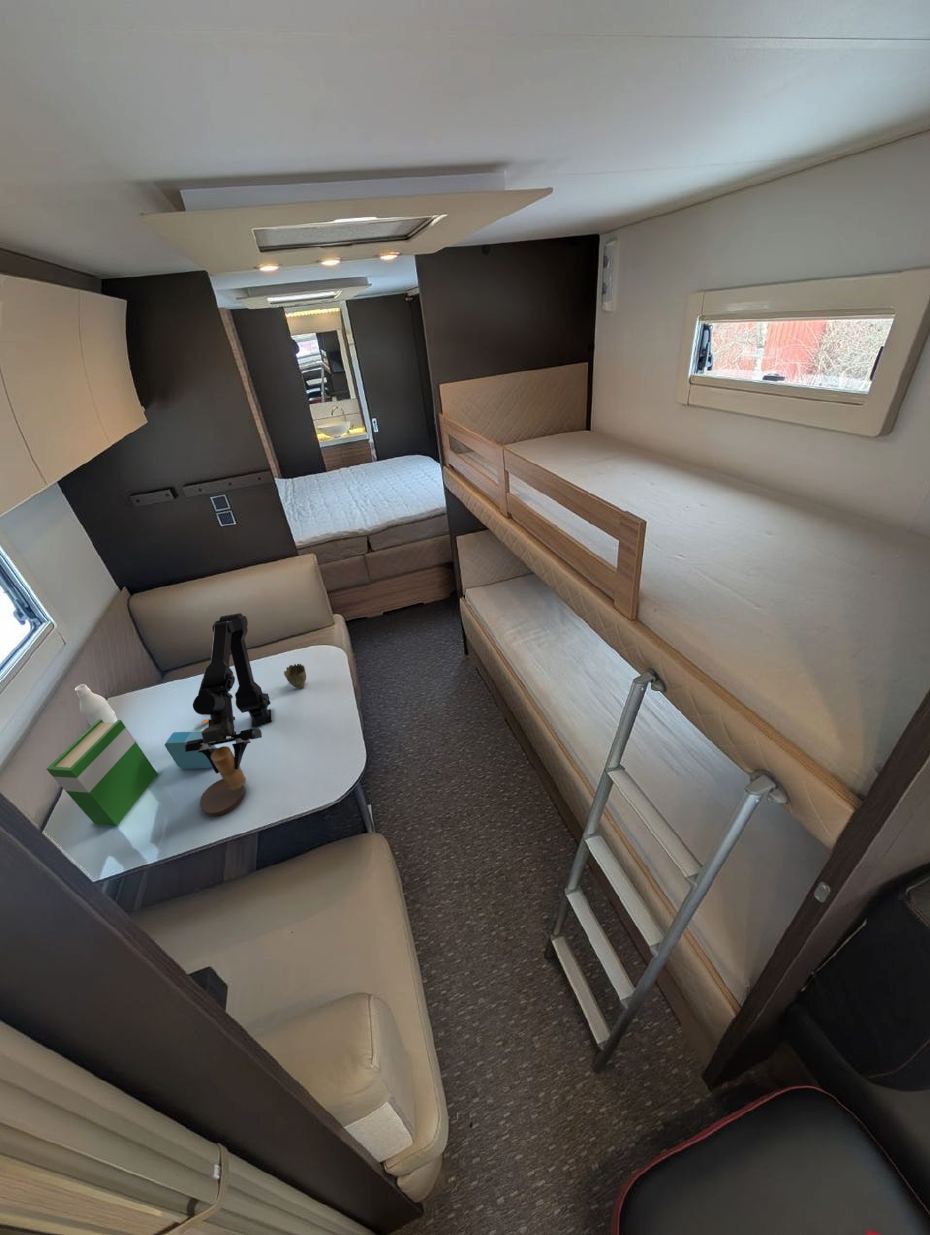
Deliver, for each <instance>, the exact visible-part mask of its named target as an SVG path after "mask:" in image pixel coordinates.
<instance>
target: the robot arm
mask: <svg viewBox="0 0 930 1235" xmlns="http://www.w3.org/2000/svg"><path fill="white" fill-rule="evenodd" d="M248 625H249V622H248V618H247V616H246V615H243V614H242V612H239V613H233V614H227V615H222V616H220V617H219V620H216V621H214V622H213V624H212V632H213V637H212V638H213V639H212V648H211V658H210V662H209V664H208V665H207V667H206V668H205V669H204V673H203V677H202V679H201V682H200V686H199V689H198V693H197V695H196V697H195V698H194V700H193V701H192V702H193V703H192V708H193V711H194V712H195V713H196V714H198V715H205V716H206V715H208V716H209V719H211V720H209V719H208V722H207V723H208V724H207V725H208V726H207V727H205V728H204V729H203V730H201V731H202V732H201V733H202V737H203V739H197V740H192V741H187V743H186V744H185V752H189V751H196V750H199V751H198V752H199V753H201V752H202V753H203V754H204V755H206V757H207V758H208V760H209V761H210V763H211V765H212V769H213V771H214V773H215V774H216V775H217V774H220V773H219V771H218V770H217V768H216V766H215V764H214V763H213V761H212V759H211V754H212V753H213V752H214V751H215V750H216V749H217V748H218V747H216V748H214V745H215V746H216V745H221V744H226V743H231V742H235V743H232V744H231V745H232V747H233V751H234V752H233V753H234V754H233V755H234V757H235V768H236V770H237V769H239V766H240V765H241V762H242V759H243V756H244V753H245V750H246V748H247V746H248V744H251V740H255V739H261V738H263V735H262V730H261V729H260V728H259V727H260V726H263V725H266V724H269V723H272V720H273V719H272V709H268V708H269V705H271V703H272V702H271V700H270V696H269V693H265V692H263V690H262V687H261V686H260V684H258V683H257V682H255V680H254V675H253V671H252V666H251V662H250V658H249V657H250V656H249V653H248V648H247V645H246V640H245V639H246V636H247V633H248ZM230 656H231V657H232V661H233V667H234V670H235V674H234V672H233V670H232V669H231V667H230V658H231V657H230ZM235 675H236V677H235ZM236 679H237V683H238V687H237V690H236V692H235V693H234V696H233V695H232V693H230V691H231V690H232V688H233V686H234V685H235V682H236ZM233 697H234V698H235V706H236V708H237V709H238V710H239V712H240V713H242V714H244V713H248V714H249V716H250V718H251V728H248V729H243V730H240V731H239V733H237V731H236V730H235V721H236V716H234V711H233V710H234V709H233V700H232V699H233ZM240 767H241V766H240Z"/></svg>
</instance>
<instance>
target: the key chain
mask: <svg viewBox="0 0 930 1235" xmlns="http://www.w3.org/2000/svg"><path fill="white" fill-rule="evenodd" d="M209 720H211V719H210V718H209V719H204V720H203V721H201V723H200V724H198V725H197V726H195V730H197V729H199V728H200V727H201V726H203V725H206V724H207V723H208V722H209Z"/></svg>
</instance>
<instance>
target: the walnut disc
mask: <svg viewBox="0 0 930 1235" xmlns="http://www.w3.org/2000/svg"><path fill="white" fill-rule="evenodd" d="M246 793H247V792H246V787H245V784H244V785H243V786H241V787H240V788H238V789H235V790H231V789H229V788H228V787H227V785H226V783H225V782H224V780H223V778H221V779H219V780H216V781H215V782H213V783H212V784H210V785H209V786H208V787H207V788H206V789H205V790H204V792H203V793H202V795H200V796H201V797H200V799H199V807H200V810H201V811H202V812H203V814H205V816H207V817H211V818H219V817H223V816H226V815H228V814H230V813H231V812H233V811H234V810H235V809H236V808H238V807H239V806H240V805H241V804H242V802H243V801H244V799H245V796H246Z"/></svg>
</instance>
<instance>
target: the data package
mask: <svg viewBox="0 0 930 1235" xmlns="http://www.w3.org/2000/svg"><path fill="white" fill-rule="evenodd" d="M202 731H203V730H200V731H198V730H197V731H174V732H172V733H171V735H170V736H169V737H168V739H167V740H166V742H165V743H164V748H165V749H166V750H167V752H168V753H169V755H170V756H171V758H172V760H173V761H174V763H175V764H176V766H177V767H178V768H179V769H183V770H185V769H187V770H188V769H213V767H212V765H211V763H210V761H209V760H208V758H207V757H206V755H204V754H203V753H202V752H201V753H199V752H198V751H199V750H196V751H189V752H185V744H186V743H187V741H192V740H197V739H203V737H202V733H201V732H202ZM214 748H217V746H216V745H214Z"/></svg>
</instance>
